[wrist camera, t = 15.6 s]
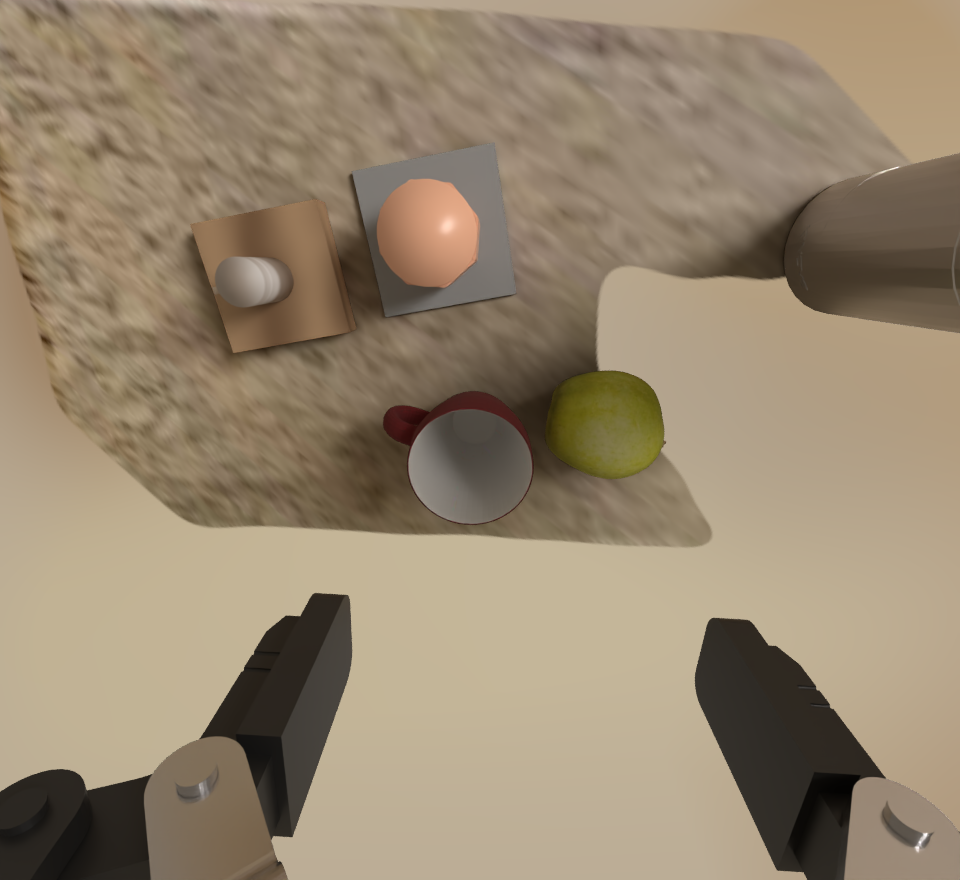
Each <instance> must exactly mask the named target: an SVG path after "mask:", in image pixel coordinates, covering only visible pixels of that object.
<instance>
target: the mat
mask: <svg viewBox="0 0 960 880" xmlns="http://www.w3.org/2000/svg"><path fill="white" fill-rule="evenodd" d="M352 174H353V179H354V183H355V187H356V192H357V196H358V200H359V205H360V209H361V213H362V218H363V222H364V226H365V231H366V235H367V239H368V244H369V248H370V252H371V256H372V261H373V265H374V269H375V274H376V278H377V282H378V287H379V291H380V295H381V300H382V304H383V308H384V313H385V317H390V316H395V315H401V314H406V313H412V312H417V311H423V310H429V309H434V308H440V307H445V306H451V305H456V304H462V303H467V302H473V301H479V300H484V299H490V298H495V297H501V296H506V295H512V294H516V288H515V281H514V274H513V267H512V260H511V253H510V246H509V239H508V233H507V226H506V219H505V212H504V205H503V198H502V191H501V184H500V178H499V171H498V164H497V157H496V150H495V143H489V144H484V145H479V146H474V147H470V148H465V149H460V150H455V151H450V152H445V153H440V154H435V155H430V156H425V157H420V158H415V159H411V160H406V161H401V162H396V163H391V164H386V165H381V166H376V167H371V168H366V169H361V170H356V171H352ZM410 179H414V180H416V179H434V180H438V181H441V182H449V183H451V184H453V185H454V187H455V188H456V189H457V190H458V192H459V193H460V194H461V195H462V196H463V197H464V199H465V200H466V202H467V203H468V204H469V206H470V207H471V208H472V210H473V211H474V212H475V213H476V215H477V216H478V218H479V222H480V234H479V248H478V261H477V260H476V261H477V262H476V263H475V264H474V265H473V266H472V267H471V268H469V269H468V270H467V271H466V272H465V273H464V274H463V275H462V276H461V277H459V278H458V279H457V280H456V281H455V282H454V283H453V284H451V285H449V286H448V287H445V288H442V287H423V286H418V285H407V284H406V283H405V282H404V281H403V280H402V279H401V278H400V277H399V276H398V275H396V274H395V273H394V272H393V271H392V270H391V269H390V267H389V266H388V265H387V263H386V262H385V260H384V258H383V256H382V255H381V254H380V252H379V245H378V240H377V222H378V217H379V214H380V210H381V209H380V208H381V207H382V206H383V204H384V202H385V201H386V199H387V198H388V197H389V195H390V194H391V193H392V192H393V191H394V190H395V189H397V188H398V187H400V186H401V185H403V184H405V183H406V182H407V181H408V180H410Z"/></svg>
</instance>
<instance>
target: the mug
mask: <svg viewBox="0 0 960 880" xmlns="http://www.w3.org/2000/svg"><path fill="white" fill-rule="evenodd" d="M412 424H413V425H412ZM416 425H417V426H416ZM383 426H384V429H385V431H386V432H387V434H388V435H389V436H390V437H392V438H393V439H394V440H396V441H398V442H401V443H403V444H406V445H409V446H410V449H409V453H408V459H407V471H408V477H409V481H410V484H411V487H412V489H413V491H414V493H415V495H416V496H417V498H418V499H419V500H420V502H421V503H422V504H423V505H424V506H425V507H426V508H427V509H428V510H430V511H431V512H432V513H434V514H435V515H437V516H439V517H441V518H443V519H445V520H447V521H450V522H454V523H458V524H465V525H477V524H484V523H489V522H492V521H495V520H497V519H500V518H502V517H503V516H505V515H507V514H508V513H510V512H511V511H512V510H514V509H515V508H516V507H517V506H518V505H519V504H520V502H521V501H522V500H523V498H524V497H525V495H526V494H527V492H528V490H529V487H530V485H531V481H532V477H533V469H534V464H533V455H532V449H531V444H530V440H529V437H528V434H527V432H526V430H525V428H524V426H523V425H522V423H521V421H520V420H519V419H518V417H517V416H516V415H515V414H514V413H513V412H512V411H511V410H510V409H509V408H508V407H507V406H506V405H505V404H504V403H503V402H502V401H500V400H499V399H498V398H496V397H494V396H492V395H490V394H487V393H483V392H478V391H469V392H463V393H460V394H457V395H454V396H452V397H451V398H449V399H447V400H446V401H444V402H443V403H441V404H440V405H438V406H437V407H436V408H434V409H433V410H432V411H431V412H428V411H425V410H422V409H419V408H415V407H411V406H394V407H392V408H390V409H389V410H388V411H387V412H386V414H385V416H384V420H383Z"/></svg>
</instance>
